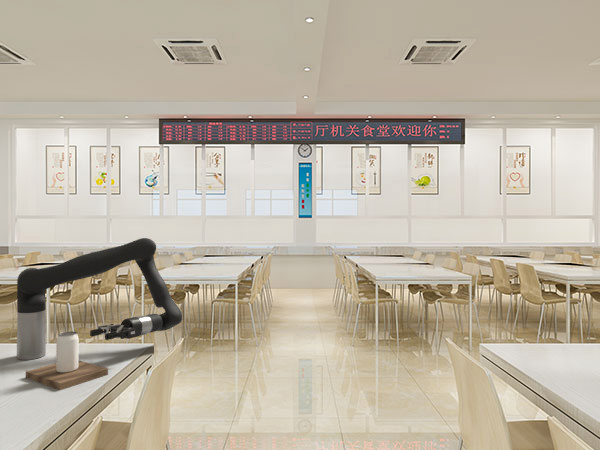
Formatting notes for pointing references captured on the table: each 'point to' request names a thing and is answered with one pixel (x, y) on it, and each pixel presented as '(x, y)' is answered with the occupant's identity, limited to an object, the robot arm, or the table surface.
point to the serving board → (66, 375)
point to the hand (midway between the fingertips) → (98, 335)
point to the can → (67, 352)
